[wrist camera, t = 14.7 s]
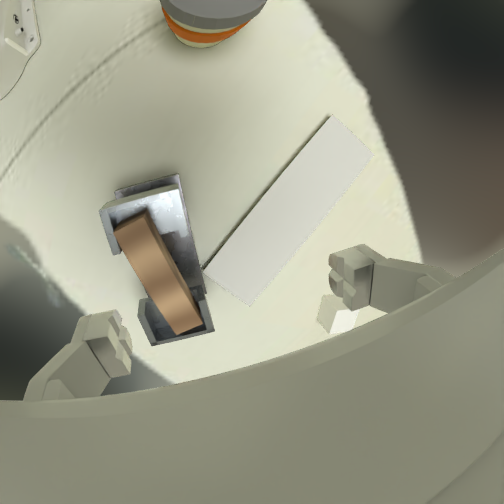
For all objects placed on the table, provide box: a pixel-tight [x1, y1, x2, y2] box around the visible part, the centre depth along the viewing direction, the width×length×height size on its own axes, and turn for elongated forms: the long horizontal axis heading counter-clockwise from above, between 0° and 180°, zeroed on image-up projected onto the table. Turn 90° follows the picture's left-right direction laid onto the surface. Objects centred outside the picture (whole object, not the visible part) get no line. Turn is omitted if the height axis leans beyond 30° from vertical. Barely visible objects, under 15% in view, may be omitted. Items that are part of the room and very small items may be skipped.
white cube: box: [317, 294, 360, 334], centre depth 56 cm, size 6×6×6 cm
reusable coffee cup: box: [160, 0, 267, 48], centre depth 24 cm, size 13×13×15 cm
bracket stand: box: [99, 173, 215, 346], centre depth 38 cm, size 21×10×12 cm, turn 9°
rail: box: [113, 208, 203, 335], centre depth 33 cm, size 16×4×4 cm, turn 20°
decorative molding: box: [202, 114, 374, 307], centre depth 46 cm, size 34×5×10 cm
